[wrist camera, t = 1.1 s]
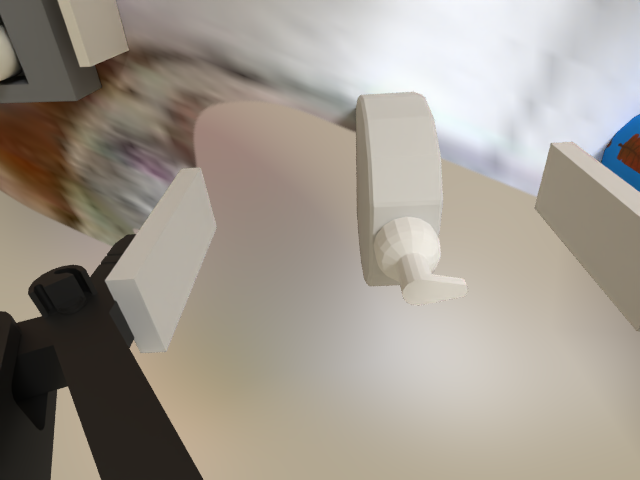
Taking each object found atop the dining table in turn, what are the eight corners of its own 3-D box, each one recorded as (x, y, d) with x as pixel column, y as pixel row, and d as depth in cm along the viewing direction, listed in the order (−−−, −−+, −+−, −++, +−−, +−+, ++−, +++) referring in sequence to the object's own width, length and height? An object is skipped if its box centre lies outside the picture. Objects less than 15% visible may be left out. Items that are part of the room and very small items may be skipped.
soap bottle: (404, 227, 45) (451, 377, 29) (357, 229, 46) (376, 379, 29) (414, 76, 37) (490, 166, 20) (355, 79, 37) (381, 172, 20)
